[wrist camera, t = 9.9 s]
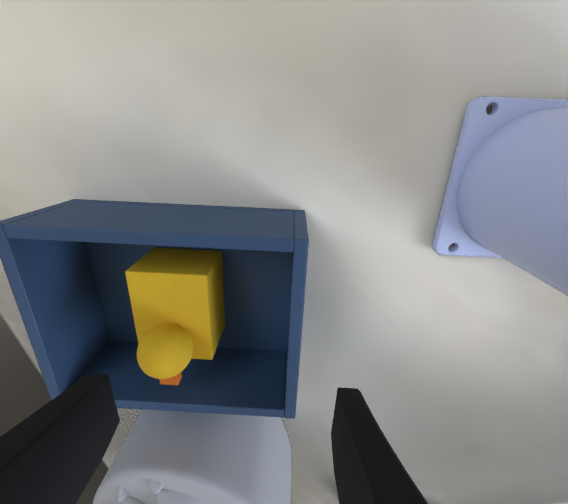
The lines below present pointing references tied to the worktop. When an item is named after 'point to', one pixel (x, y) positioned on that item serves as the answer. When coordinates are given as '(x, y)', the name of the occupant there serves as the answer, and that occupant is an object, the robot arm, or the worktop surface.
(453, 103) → the worktop surface
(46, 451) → the robot arm
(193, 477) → the lumpy-topped squat cylinder
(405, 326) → the worktop surface
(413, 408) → the worktop surface
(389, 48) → the worktop surface
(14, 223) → the open box
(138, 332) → the duck
